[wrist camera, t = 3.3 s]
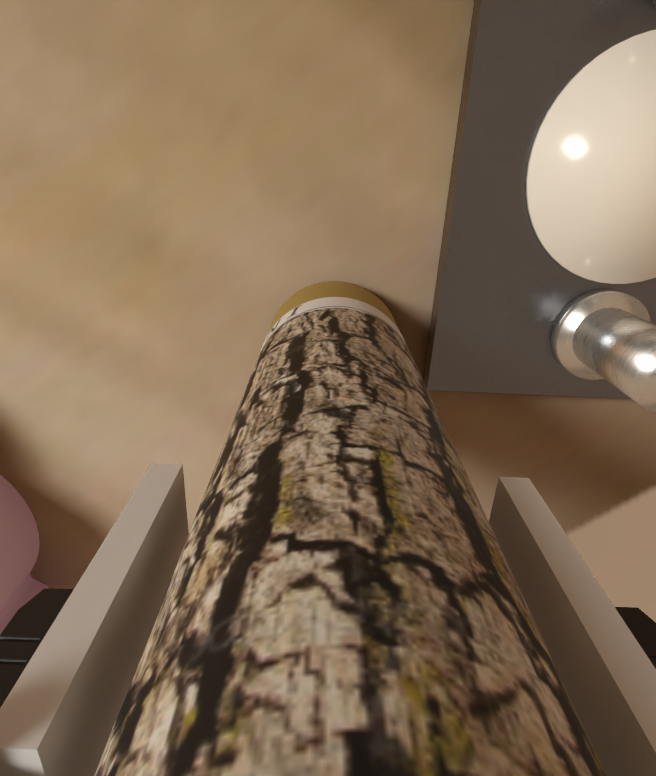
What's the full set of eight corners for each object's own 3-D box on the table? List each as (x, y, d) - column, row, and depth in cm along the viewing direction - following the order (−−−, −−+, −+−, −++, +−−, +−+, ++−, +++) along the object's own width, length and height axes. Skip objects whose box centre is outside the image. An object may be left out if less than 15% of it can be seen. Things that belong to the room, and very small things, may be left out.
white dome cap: (554, 21, 19) (558, 19, 19) (804, 36, 19) (811, 33, 19) (505, 277, 23) (507, 279, 23) (712, 287, 23) (717, 288, 23)
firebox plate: (488, -101, 18) (498, -119, 17) (847, -79, 19) (879, -96, 18) (423, 381, 26) (427, 390, 25) (675, 392, 27) (689, 401, 26)
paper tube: (406, 283, 24) (1643, 1984, 1) (389, 404, 27) (721, 1663, 4) (271, 272, 24) (-801, 2070, 1) (267, 395, 27) (-89, 1669, 4)
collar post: (562, 286, 23) (635, 320, 18) (652, 291, 23) (753, 326, 18) (542, 371, 25) (602, 426, 19) (626, 375, 25) (710, 431, 20)
